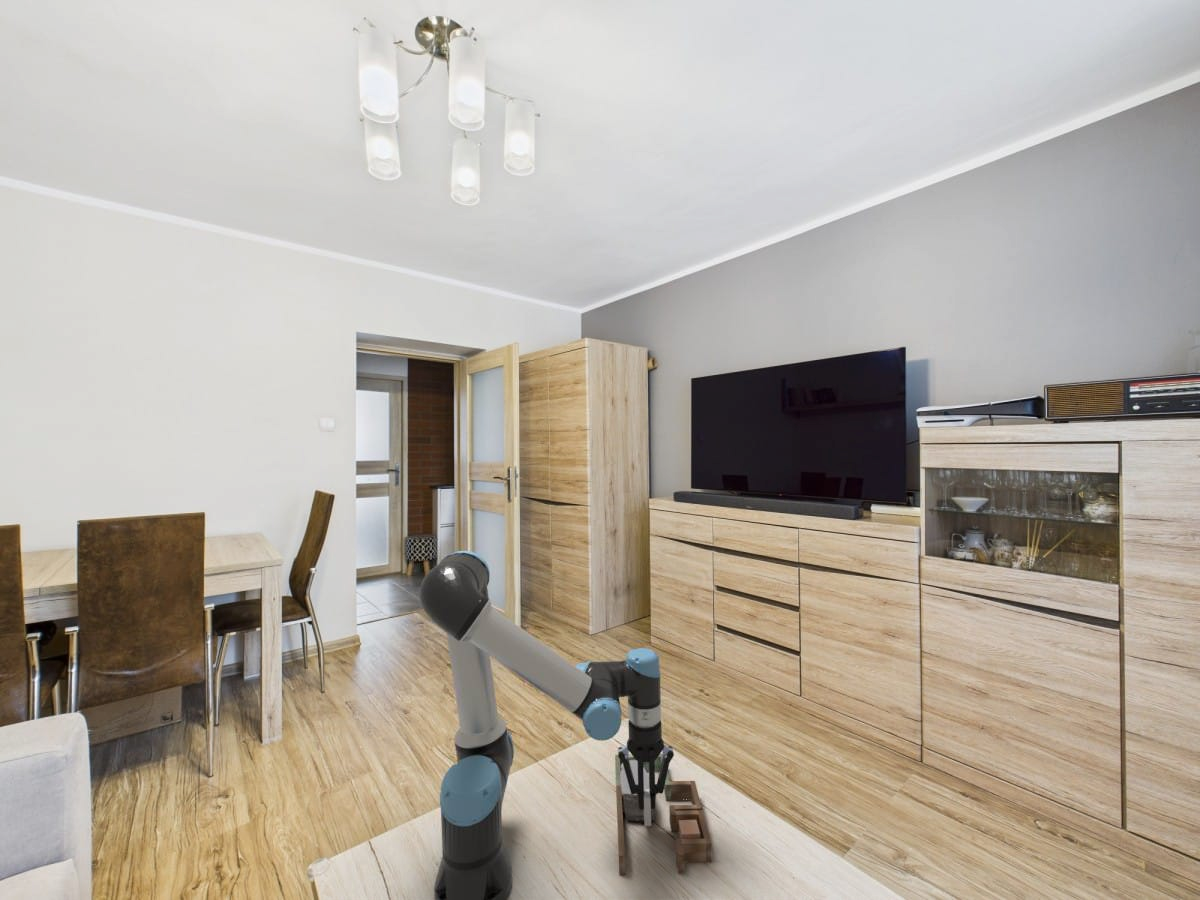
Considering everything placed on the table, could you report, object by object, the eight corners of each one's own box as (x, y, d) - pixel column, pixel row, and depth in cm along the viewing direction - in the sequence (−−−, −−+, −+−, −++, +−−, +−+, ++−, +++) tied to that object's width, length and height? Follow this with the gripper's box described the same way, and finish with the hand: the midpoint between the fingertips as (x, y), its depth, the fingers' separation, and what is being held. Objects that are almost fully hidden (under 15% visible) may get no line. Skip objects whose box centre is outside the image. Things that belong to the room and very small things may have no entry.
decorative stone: (632, 834, 115) (669, 817, 119) (630, 804, 114) (667, 788, 119) (604, 794, 128) (638, 780, 132) (602, 767, 128) (636, 754, 132)
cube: (682, 852, 109) (681, 834, 109) (678, 837, 113) (678, 820, 113) (700, 851, 109) (700, 833, 109) (696, 837, 113) (696, 819, 113)
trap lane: (619, 874, 104) (618, 855, 104) (615, 769, 137) (615, 754, 137) (714, 873, 103) (714, 854, 103) (687, 767, 137) (687, 753, 137)
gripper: (616, 729, 112) (619, 834, 112) (675, 728, 111) (678, 833, 112) (616, 711, 119) (618, 809, 120) (671, 710, 119) (673, 809, 119)
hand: (647, 821), depth 116 cm, fingers closed
